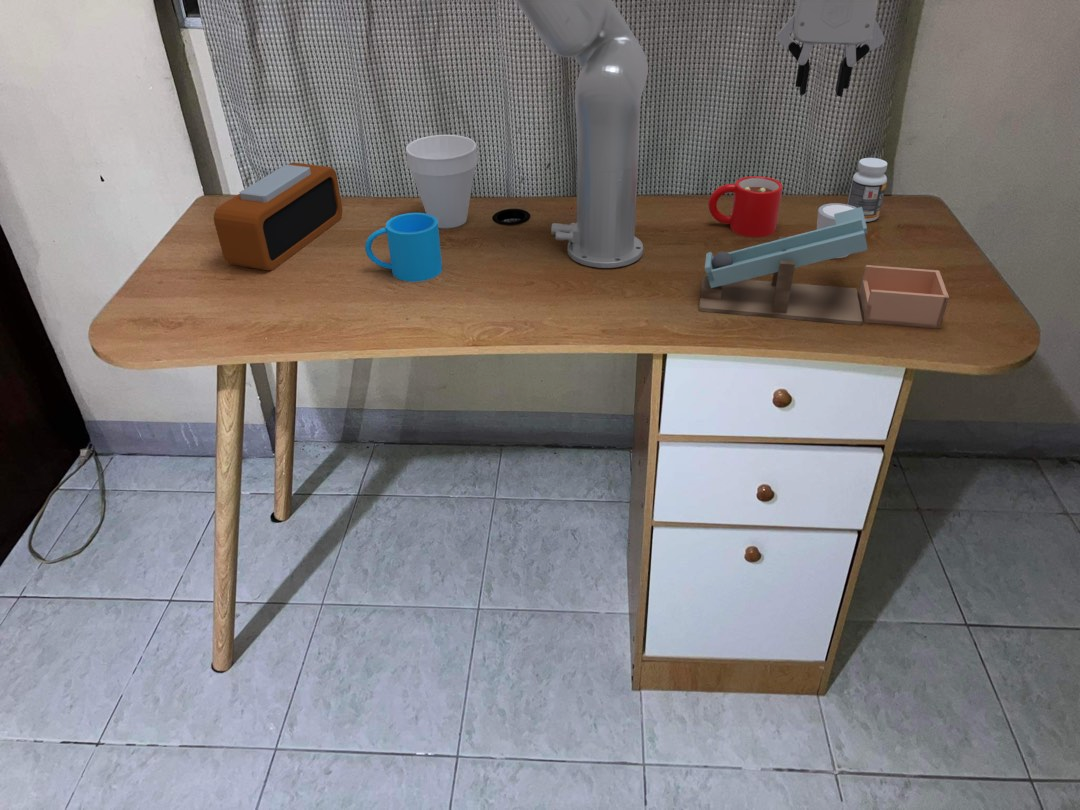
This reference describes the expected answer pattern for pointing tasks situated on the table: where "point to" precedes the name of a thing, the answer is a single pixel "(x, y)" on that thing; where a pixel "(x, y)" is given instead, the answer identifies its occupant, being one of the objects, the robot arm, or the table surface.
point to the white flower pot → (444, 175)
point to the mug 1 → (410, 247)
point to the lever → (794, 250)
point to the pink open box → (903, 296)
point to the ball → (722, 260)
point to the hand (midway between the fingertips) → (820, 91)
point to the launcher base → (783, 299)
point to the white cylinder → (830, 215)
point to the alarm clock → (278, 215)
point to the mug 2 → (750, 205)
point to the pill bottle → (869, 187)
